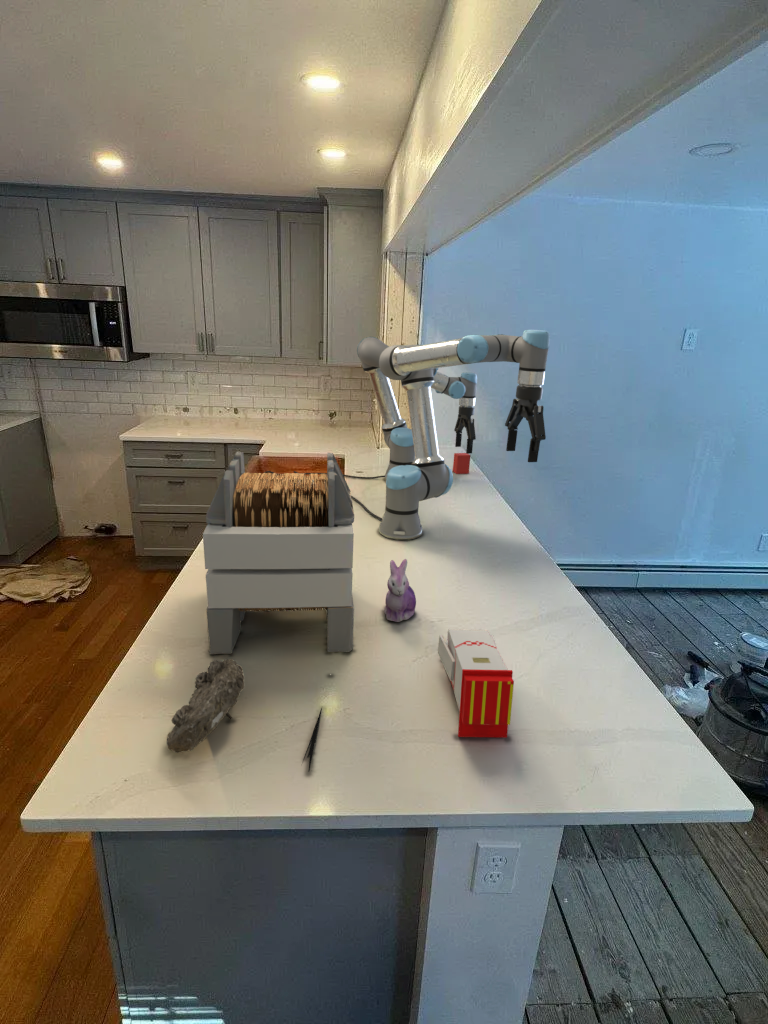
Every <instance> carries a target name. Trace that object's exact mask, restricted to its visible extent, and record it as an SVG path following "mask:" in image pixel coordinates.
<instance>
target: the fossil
mask: <svg viewBox="0 0 768 1024" xmlns="http://www.w3.org/2000/svg"><path fill="white" fill-rule="evenodd" d="M243 670H244V669H243V667H242V665H240V664H237V662H236V661H235V660H234V659H232V658H231V659H227V658H226V659H224V660H223V661H222V660H217V659H212V660H211V661H210V663H209V665H208V666H207V671H201V672H199V673H198V674H197V675H196V676H195V680H194V684H195V685H194V687H195V689H194V690H193V693H192V694H191V697H190V698H189V700H188V704H184V705H182V706H181V707H180V709H177V710H176V711H175V713H174V715H173V716H172V718H171V723H172V724H173V727H172V730H171V731H170V732H168V734H167V738H166V741H167V742H166V745H167V749H168V750H169V751H173V752H174V753H176V754H178V753H182V752H188V751H189V752H192V751H193V750H195V748H196V747H197V746H199V744H200V743H201V742H203V741H204V740H205V739H206V738H207V737H208V736H209V735H210V734H211V733H212V732H214V730H215V729H217V727H218V726H219V724H220V722H221V721H222V720H223V719H224V718H225V716H226V717H227V719H229V720H233V717H232V715H230V714H229V710H230V709H231V708H234V706H235V704H236V703H237V702H238V699H239V697H240V695H241V693H242V691H243V690H245V689H244V688H245V675H244V671H243Z"/></svg>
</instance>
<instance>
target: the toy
mask: <svg viewBox="0 0 768 1024" xmlns="http://www.w3.org/2000/svg"><path fill="white" fill-rule="evenodd" d="M446 640H447V643H446V641H445V639H444V636H443V635H442V634H439V637H438V646H437V656H438V657H439V659H440V661H441V663H442V666H443V668H444V670H445V672H446V674H447V677H448V679H449V681H450V684H451V687H452V690H453V693H454V697H455V701H456V705H457V708H458V711H459V714H458V715H459V716H458V730H457V731H458V732H457V737H458V738H508V731H509V726H510V725H511V717H512V707H513V697H514V696H513V695H514V684H515V680H514V679H513V673H514V671H513V670H512V669H508V667H507V665H506V662H505V661H504V659H503V658H502V655H501V653H500V651H499V649H498V647H497V643H496V639H495V637H494V635H493V634H491V632H490V631H489V629H467V628H466V629H465V628H463V629H461V628H460V629H459V628H448V630H447V639H446Z"/></svg>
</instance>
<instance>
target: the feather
mask: <svg viewBox="0 0 768 1024" xmlns="http://www.w3.org/2000/svg"><path fill="white" fill-rule="evenodd" d="M329 675H330V676H331V675H332V674H331V673H330V674H329ZM322 710H323V707H321V708H320V710H319V713H318V716H317V719H316V723H315V725H314V728H313V731H312V733H311V737H310V739H309V742H308V745H307V748H306V751H305V754H304V757H303V760H302V763H301V767H302V765H303V763H304V761H305V758H308V759H309V760H308V762H307V763H308V764H307V766H308V771H310V770H311V766H312V765H311V764H312V760H313V757H315V756H314V755H315V751H316V749H315V746H317V739H318V733H319V729H320V722H321V717H322V712H323V711H322ZM313 754H314V755H313ZM306 755H307V757H306Z"/></svg>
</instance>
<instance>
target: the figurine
mask: <svg viewBox="0 0 768 1024" xmlns="http://www.w3.org/2000/svg"><path fill="white" fill-rule="evenodd" d="M407 567H408V559H406V558H404V559H403V560H402V561H401V563H400V565H399V566H398V565H397V563H396V562H395V561H394V560H393V559H391V560H390V561H389V570H390V576H389V578H388V579H387V589H388V591H387V592H386V594H385V595H386V596H385V607H384V615H385V616H386V620H387V621H391V622H395V623H400V622H402V621H406V620H409V619H410V618H411V617H413V616H414V615H415V610H416V606H417V597H416V593H415V591H414V590H413V587H411V586H410V582H409V579H408V577H407V574H406V571H407Z"/></svg>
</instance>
